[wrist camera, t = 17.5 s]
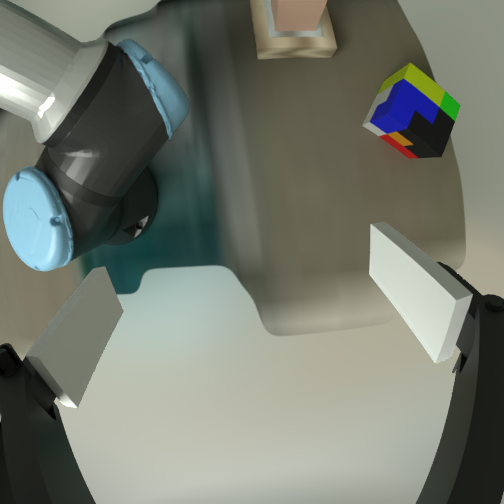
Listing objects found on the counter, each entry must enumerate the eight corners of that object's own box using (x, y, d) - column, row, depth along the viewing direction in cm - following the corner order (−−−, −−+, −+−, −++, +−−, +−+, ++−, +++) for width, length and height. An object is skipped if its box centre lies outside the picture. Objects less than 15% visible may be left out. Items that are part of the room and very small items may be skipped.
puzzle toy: (362, 125, 39) (387, 114, 30) (383, 80, 37) (410, 62, 27) (408, 158, 40) (441, 157, 31) (428, 114, 38) (460, 105, 28)
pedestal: (257, 59, 37) (257, 48, 33) (250, 6, 34) (249, -8, 29) (331, 57, 36) (337, 47, 32) (318, 4, 33) (323, -9, 29)
